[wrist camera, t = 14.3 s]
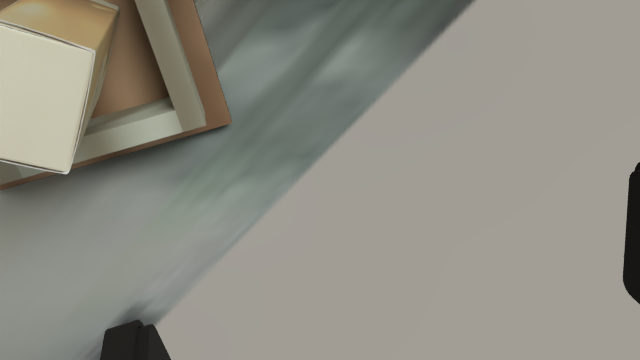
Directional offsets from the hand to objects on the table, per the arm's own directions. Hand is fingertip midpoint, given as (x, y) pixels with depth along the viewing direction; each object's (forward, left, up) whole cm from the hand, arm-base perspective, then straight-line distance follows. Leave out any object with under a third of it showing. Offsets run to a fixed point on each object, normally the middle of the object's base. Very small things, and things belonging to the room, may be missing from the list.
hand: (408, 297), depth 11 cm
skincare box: (+11, -1, -29) cm, 31 cm away
